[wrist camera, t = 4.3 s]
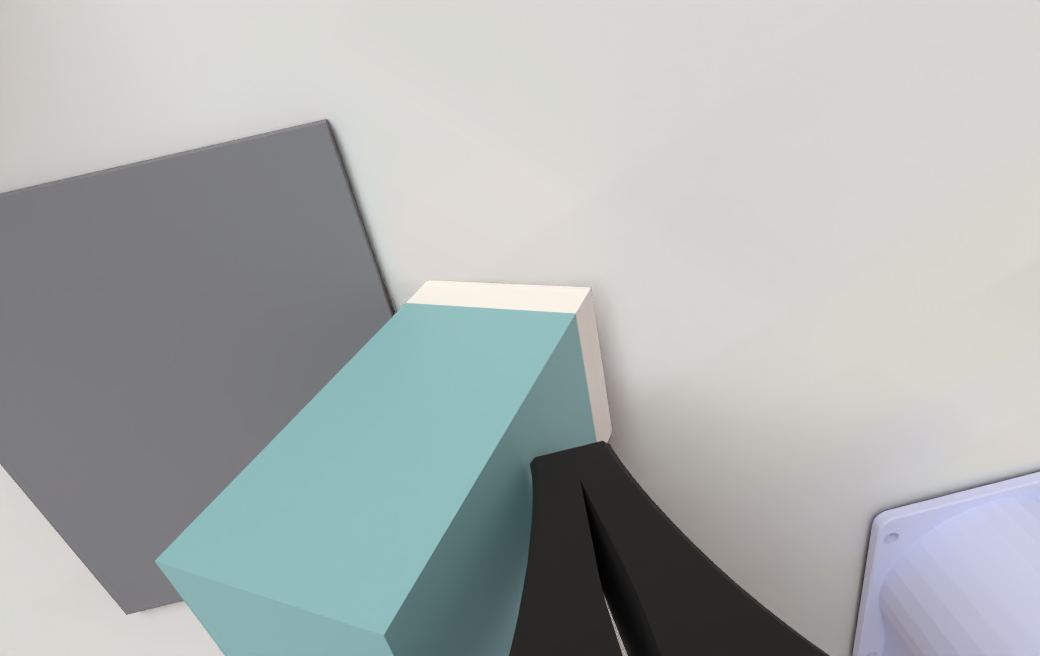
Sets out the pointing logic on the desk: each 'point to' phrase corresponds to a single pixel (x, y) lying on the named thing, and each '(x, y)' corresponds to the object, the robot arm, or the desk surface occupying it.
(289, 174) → the pad
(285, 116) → the desk surface
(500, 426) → the teal block
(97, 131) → the desk surface
